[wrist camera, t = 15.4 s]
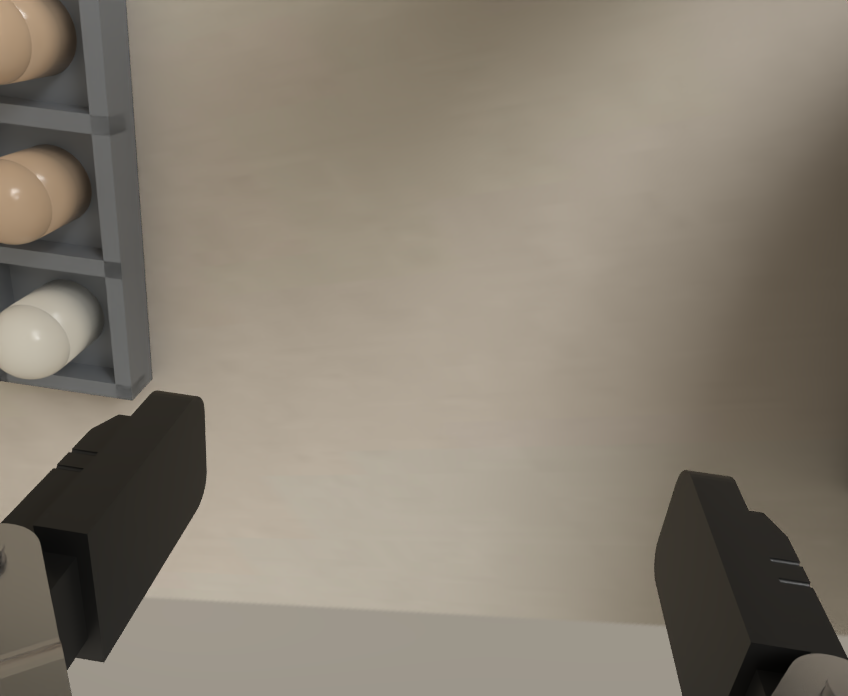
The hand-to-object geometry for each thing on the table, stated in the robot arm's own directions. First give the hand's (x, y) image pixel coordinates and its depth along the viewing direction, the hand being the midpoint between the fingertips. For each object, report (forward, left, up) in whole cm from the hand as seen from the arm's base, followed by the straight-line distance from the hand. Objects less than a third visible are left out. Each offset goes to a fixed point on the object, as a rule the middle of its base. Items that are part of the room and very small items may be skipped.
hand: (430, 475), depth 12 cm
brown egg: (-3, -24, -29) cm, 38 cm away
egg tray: (+5, -24, -30) cm, 39 cm away
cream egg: (+13, -24, -29) cm, 40 cm away
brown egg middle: (+5, -24, -29) cm, 38 cm away
